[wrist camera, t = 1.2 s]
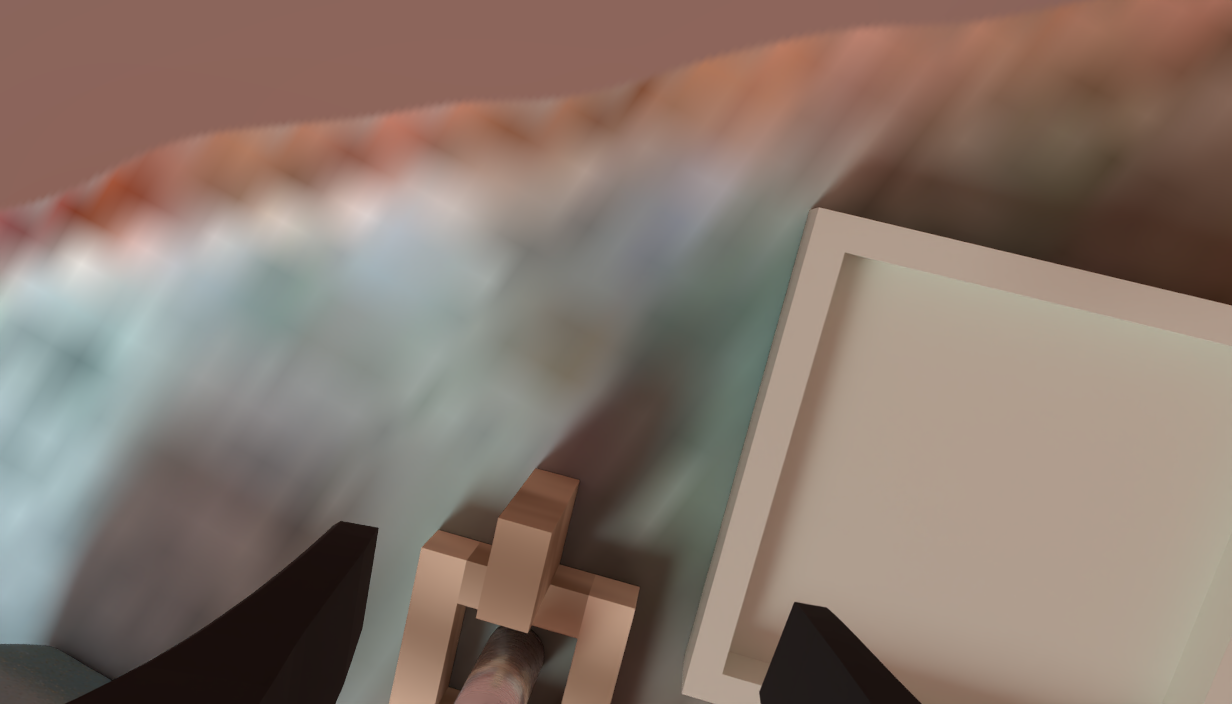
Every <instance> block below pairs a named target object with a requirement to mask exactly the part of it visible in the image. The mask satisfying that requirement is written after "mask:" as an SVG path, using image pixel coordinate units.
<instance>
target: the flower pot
mask: <svg viewBox="0 0 1232 704" xmlns="http://www.w3.org/2000/svg"><path fill="white" fill-rule="evenodd" d="M110 681H112V680H110V679H108V678H106V677H105V676H103V675H101V674H99V673H97V672H96V671H94V670H92V669H91V668H89V667H87V666H85V665H84V664H82V663H80V662H79V661H77V660H75V659H74V658H72V657H70V656H69V655H67V654H65V653H64V652H62V651H60V650H58V649H56V648H53V647H50V646H41V645H27V644H0V704H65V703H67V702H69V701H72V700H74V699H76V698H78V697H80V696H82V695H84V694H86V693H88V692H90V691H92V690H94V689H96V688H98V687H100V686H102V685H104V684H106V683H108V682H110Z"/></svg>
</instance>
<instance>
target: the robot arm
mask: <svg viewBox="0 0 1232 704" xmlns="http://www.w3.org/2000/svg"><path fill="white" fill-rule="evenodd" d="M378 529H379V528H377V527H371V526H365V525H360V524H354V523H349V522H343V521H340V522H339V523H337V524H335V525H334V526H332V527H331V528H330V529H329V530H328V531H327V532H326V533H325V534H324V535H323V536H321V537H320V538H319V539H318V540H317V541H316V542H315V543H314V544H313V545H311V546H310V547H309V548H308V549H307V550H306V551H305V552H303V553H302V554H301V555H300V556H299V557H298V558H296V559H295V560H294V561H293V562H292V563H290V564H289V565H288V566H287V567H286V568H284V569H283V570H282V571H281V572H279V573H278V574H277V575H276V576H274V577H273V578H272V579H270V580H269V581H268V582H267V583H265V584H264V585H263V586H262V587H260V588H259V589H258V590H257V591H255V592H254V593H253V594H251V595H250V596H249V597H247V598H246V599H244V600H243V601H242V602H240V603H239V604H237V605H236V606H234V607H233V608H232V609H230V610H229V611H227V612H226V613H225V614H223V615H222V616H220V617H219V618H217V619H216V620H215V621H213V622H212V623H210V624H209V625H207V626H206V627H204V628H203V629H201V630H200V631H198V632H197V633H195V634H193V635H192V636H190V637H189V638H187V639H186V640H184V641H182V642H181V643H179V644H178V645H176V646H174V647H173V648H171V649H169V650H167V651H166V652H164V653H162V654H161V655H159V656H157V657H156V658H154V659H152V660H150V661H149V662H147V663H145V664H143V665H141V666H140V667H138V668H136V669H134V670H132V671H130V672H128V673H126V674H124V675H122V676H120V677H118V678H116V679H114V680H112V681H110V682H108V683H106V684H104V685H102V686H100V687H98V688H96V689H94V690H92V691H90V692H88V693H86V694H84V695H82V696H80V697H78V698H76V699H74V700H72V701H69V702H67V703H65V704H335V703H336V701H337V699H338V696H339V694H340V692H341V690H342V687H343V685H344V682H345V679H346V676H347V673H348V670H349V667H350V664H351V661H352V658H353V655H354V652H355V649H356V646H357V643H358V640H359V637H360V634H361V631H362V627H363V621H364V615H365V609H366V603H367V597H368V590H369V584H370V578H371V572H372V566H373V560H374V554H375V547H376V541H377V535H378ZM759 695H760V703H761V704H922V703H921V702H920V701H919V700H918V699H917V698H916V697H915V696H914V695H913V694H912V693H911V692H910V691H909V690H908V689H907V688H906V687H905V686H904V685H903V684H902V683H901V682H900V681H899V680H898V679H897V678H896V677H895V676H894V675H893V674H892V673H891V672H890V671H889V670H888V669H887V668H886V667H885V666H884V665H883V664H882V662H881V661H880V660H879V659H878V658H877V657H876V656H875V655H874V654H873V653H872V652H871V651H870V650H869V649H868V648H867V647H866V646H865V645H864V644H863V643H862V641H861V640H860V639H859V638H858V637H857V636H856V635H855V634H854V633H853V632H852V631H851V630H850V629H849V628H848V627H847V626H846V625H845V624H844V623H843V622H842V621H841V620H840V619H839V618H838V617H837V616H836V615H835V614H834V613H833V612H831V611H830V610H829V609H828V608H827V607H822V606H816V605H810V604H805V603H799V602H794V604H793V606H792V609H791V611H790V614H789V617H788V619H787V622H786V624H785V627H784V629H783V632H782V635H781V637H780V640H779V642H778V645H777V647H776V650H775V653H774V655H773V658H772V660H771V663H770V665H769V668H768V671H767V673H766V676H765V678H764V681H763V683H762V686H761V689H760V691H759Z"/></svg>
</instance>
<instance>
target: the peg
mask: <svg viewBox="0 0 1232 704" xmlns="http://www.w3.org/2000/svg"><path fill="white" fill-rule="evenodd" d="M543 661H544V648H543V644H542V642H541V640H540V639H539V637H538V636H537V635H536V634H535V633H534V632H533V631H532V630H529V632H528V633H525V632H521V631H518V630H514V629H511V628H508V627H504V626H502V627H500V628H498V629H497V630H496V631H494V633H493V634H492V635H491V636H490V638H489V640H488V642H487V644H486V645H485V647H484V649H483V651H482V653H481V655H480V656H479V658H478V660H477V662H476V664H475V666H474V667H473V669H472V671H471V673H470V675H469V677H468V678H467V680H466V682H465V684H464V686H463V687H462V689H461V691H460V693H459V695H458V697H457V698H456V700H455V702H454V704H527V702H528V700H529V697H530V695H531V692H532V689H533V687H534V684H535V682H536V679H537V677H538V674H539V672H540V669H541V666H542V664H543Z"/></svg>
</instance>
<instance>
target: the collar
mask: <svg viewBox="0 0 1232 704" xmlns="http://www.w3.org/2000/svg"><path fill="white" fill-rule="evenodd" d="M579 482H580V480H577V479H574V478H570V477H566V476H563V475H559V474H555V473H552V472H548V471H544V470H541V469H537V468H535V470H534V471H533V472H532V474H531V475H530V476H529V478H528V479H527V480H526V482H525V483H524V484H523V486H522V487H521V488H520V490H519V491H518V492H517V494H516V495H515V496H514V498H513V499H512V500H511V502H510V503H509V504H508V506H507V507H506V508H505V510H504V511H503V512H502V514H501V515H500V516H499V518H498V521H497V526H496V530H495V535H494V539H493V544H492V545H490V544H486V543H483V542H479V541H476V540H472V539H469V538H465V537H462V536H458V535H455V534H451V533H448V532H444V531H441V530H437V532H436V533H435V534H434V535H433V536H432V537H431V538H430V539H429V540H428V541H427V542H426V543H425V544H424V546H423V547H422V548H421V553H420V558H419V562H418V567H417V572H416V577H415V582H414V586H413V591H412V596H411V601H410V606H409V611H408V615H407V620H406V625H405V630H404V635H403V639H402V644H401V649H400V654H399V659H398V663H397V668H396V673H395V678H394V683H393V687H392V692H391V697H390V702H389V704H454V702H455V700H456V698H457V697H458V695H459V693H460V690H457V689H454V688H450V687H448V686H449V682H450V677H451V673H452V668H453V664H454V659H455V655H456V650H457V646H458V641H459V637H460V632H461V628H462V623H463V619H464V614H465V610H466V606H468V607H471V608H475V609H478V610H477V615H476V618H477V619H480V620H484V621H487V622H491V623H494V624H497V625H501V626H504V627H508V628H511V629H514V630H518V631H521V632H525V633H528V632H529V630H530V628H531V625H533V626H536V627H540V628H543V629H547V630H550V631H554V632H557V633H560V634H564V635H567V636H571V637H574V638H578V640H577V644H576V648H575V652H574V656H573V660H572V664H571V668H570V672H569V676H568V680H567V684H566V688H565V692H564V696H563V700H562V704H610V703H611V699H612V695H613V692H614V688H615V684H616V680H617V677H618V673H619V669H620V665H621V661H622V658H623V654H624V650H625V646H626V643H627V639H628V635H629V631H630V627H631V624H632V620H633V616H634V612H635V609H636V603H637V598H638V593H639V588H640V587H638V586H634V585H631V584H627V583H624V582H620V581H617V580H613V579H610V578H606V577H603V576H599V575H596V574H592V573H588V572H585V571H581V570H578V569H574V568H571V567H567V566H564V565H560V560H561V556H562V552H563V548H564V544H565V539H566V535H567V531H568V527H569V523H570V519H571V515H572V511H573V506H574V502H575V498H576V494H577V490H578V486H579Z"/></svg>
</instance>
